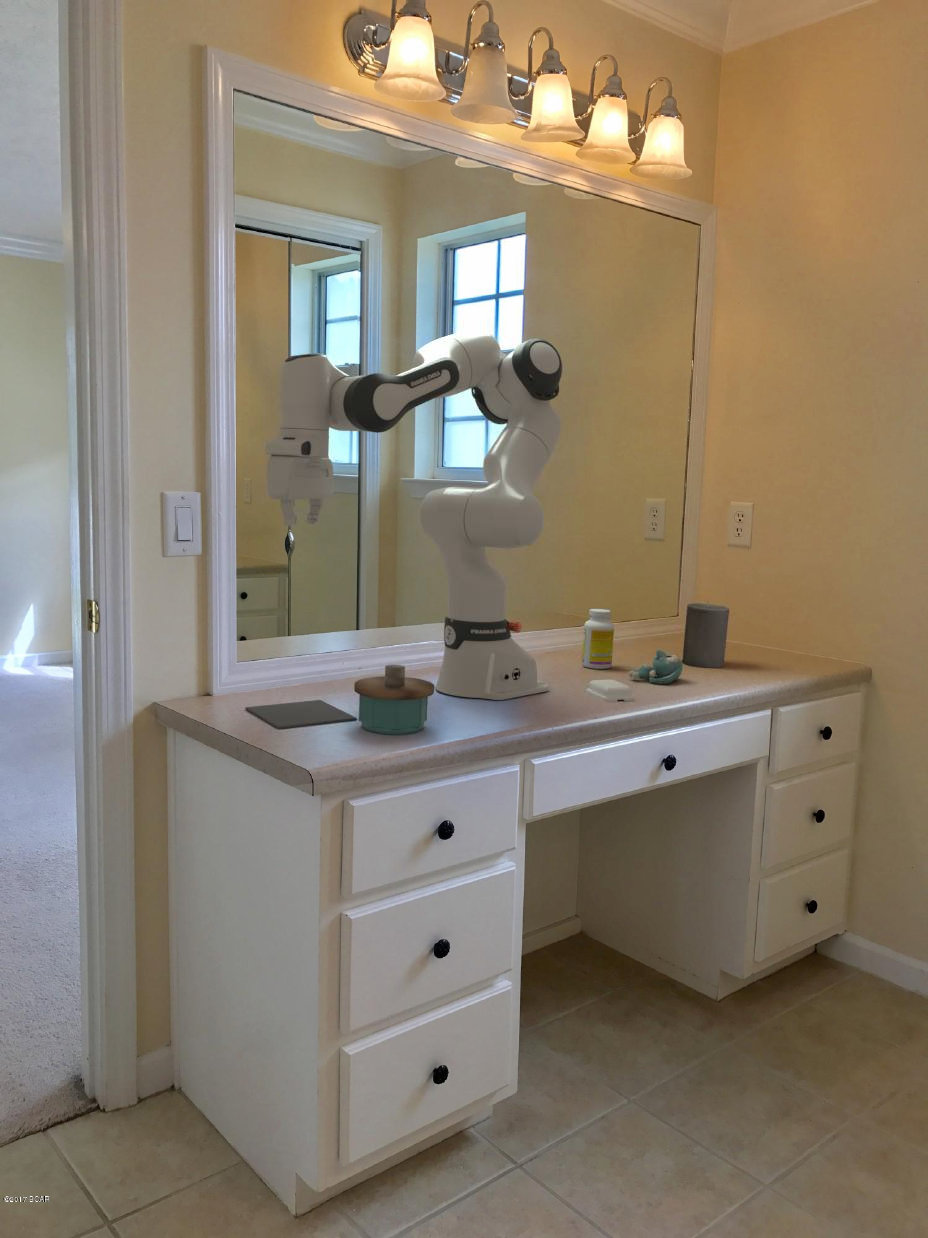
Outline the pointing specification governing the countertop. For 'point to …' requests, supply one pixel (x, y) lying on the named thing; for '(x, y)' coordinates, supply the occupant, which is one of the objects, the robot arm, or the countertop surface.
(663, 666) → the stuffed animal
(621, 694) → the soap
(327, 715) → the mat
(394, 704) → the bowl
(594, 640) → the supplement bottle
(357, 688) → the lid
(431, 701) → the countertop surface
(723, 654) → the pillar candle
